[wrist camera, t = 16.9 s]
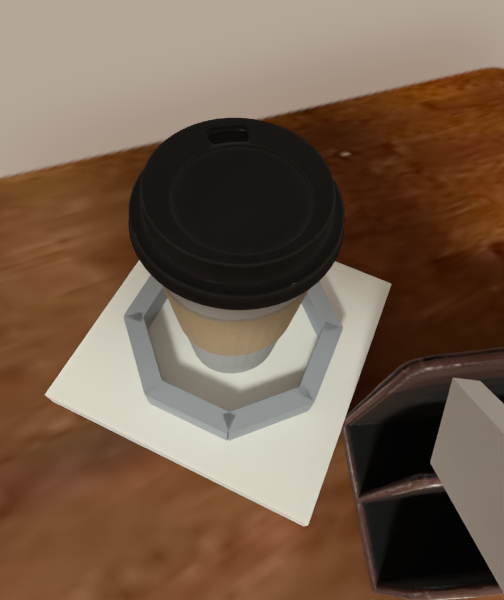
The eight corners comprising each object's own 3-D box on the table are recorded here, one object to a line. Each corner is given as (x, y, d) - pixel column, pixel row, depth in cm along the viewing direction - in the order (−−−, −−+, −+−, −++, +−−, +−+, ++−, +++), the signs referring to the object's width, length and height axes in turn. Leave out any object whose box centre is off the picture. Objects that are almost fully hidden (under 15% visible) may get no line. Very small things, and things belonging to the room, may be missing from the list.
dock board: (52, 401, 30) (33, 384, 27) (182, 212, 38) (179, 182, 35) (303, 526, 27) (314, 524, 24) (385, 293, 35) (400, 269, 32)
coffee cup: (245, 257, 34) (258, 79, 21) (327, 349, 31) (403, 205, 18) (137, 322, 31) (75, 161, 18) (216, 432, 28) (211, 332, 15)
